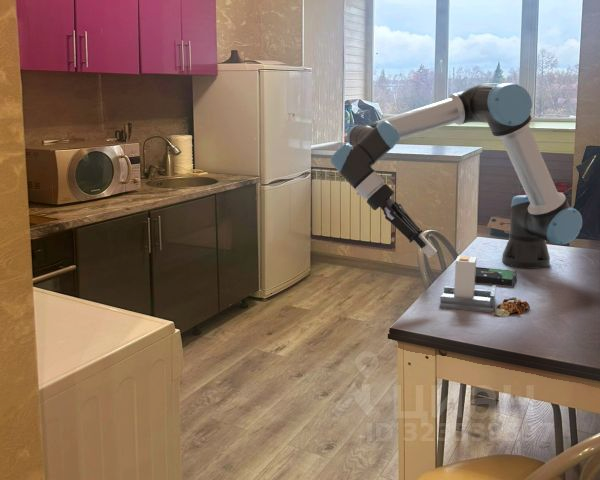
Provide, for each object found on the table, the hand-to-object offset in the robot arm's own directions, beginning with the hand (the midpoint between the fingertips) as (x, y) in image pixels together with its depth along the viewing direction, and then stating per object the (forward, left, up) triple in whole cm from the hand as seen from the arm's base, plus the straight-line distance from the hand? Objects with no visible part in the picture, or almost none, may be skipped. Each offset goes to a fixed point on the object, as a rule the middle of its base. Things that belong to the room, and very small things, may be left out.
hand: (432, 254), depth 180 cm
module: (-9, 0, -12) cm, 15 cm away
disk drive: (-15, -25, -14) cm, 32 cm away
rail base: (-10, 0, -13) cm, 17 cm away
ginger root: (-21, +3, -14) cm, 26 cm away
